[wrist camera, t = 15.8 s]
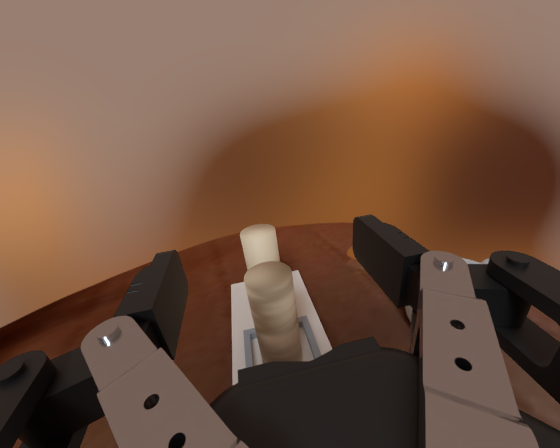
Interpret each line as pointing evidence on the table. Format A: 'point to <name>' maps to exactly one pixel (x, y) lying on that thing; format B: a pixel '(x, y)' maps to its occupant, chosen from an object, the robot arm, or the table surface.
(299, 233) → the table surface
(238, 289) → the board
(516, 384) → the table surface
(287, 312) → the maple post
